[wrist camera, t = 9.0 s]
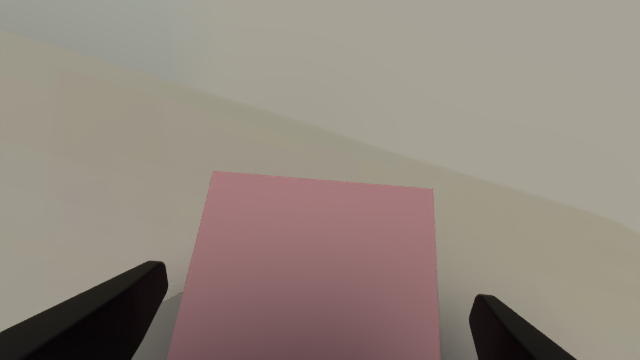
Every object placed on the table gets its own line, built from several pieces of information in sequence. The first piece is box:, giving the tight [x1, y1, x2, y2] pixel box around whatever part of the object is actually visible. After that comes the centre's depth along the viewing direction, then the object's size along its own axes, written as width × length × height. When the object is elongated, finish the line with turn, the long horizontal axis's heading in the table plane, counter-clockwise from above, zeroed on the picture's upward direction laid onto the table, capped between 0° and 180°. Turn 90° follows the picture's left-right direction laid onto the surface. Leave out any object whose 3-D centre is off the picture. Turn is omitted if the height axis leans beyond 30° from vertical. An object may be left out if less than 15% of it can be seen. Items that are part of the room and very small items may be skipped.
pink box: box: [167, 171, 441, 360], centre depth 11 cm, size 5×4×12 cm
